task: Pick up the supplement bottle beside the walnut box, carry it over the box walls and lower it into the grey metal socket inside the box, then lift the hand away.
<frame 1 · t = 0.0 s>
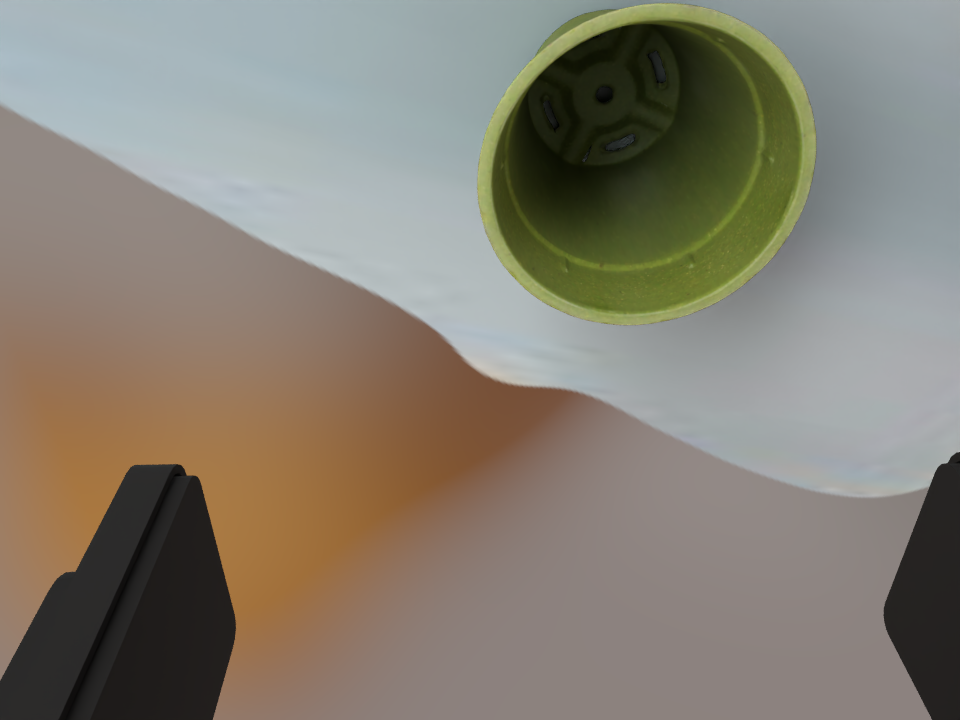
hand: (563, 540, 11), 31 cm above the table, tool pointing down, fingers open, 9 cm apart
plant pot: (601, 92, 39), on the table
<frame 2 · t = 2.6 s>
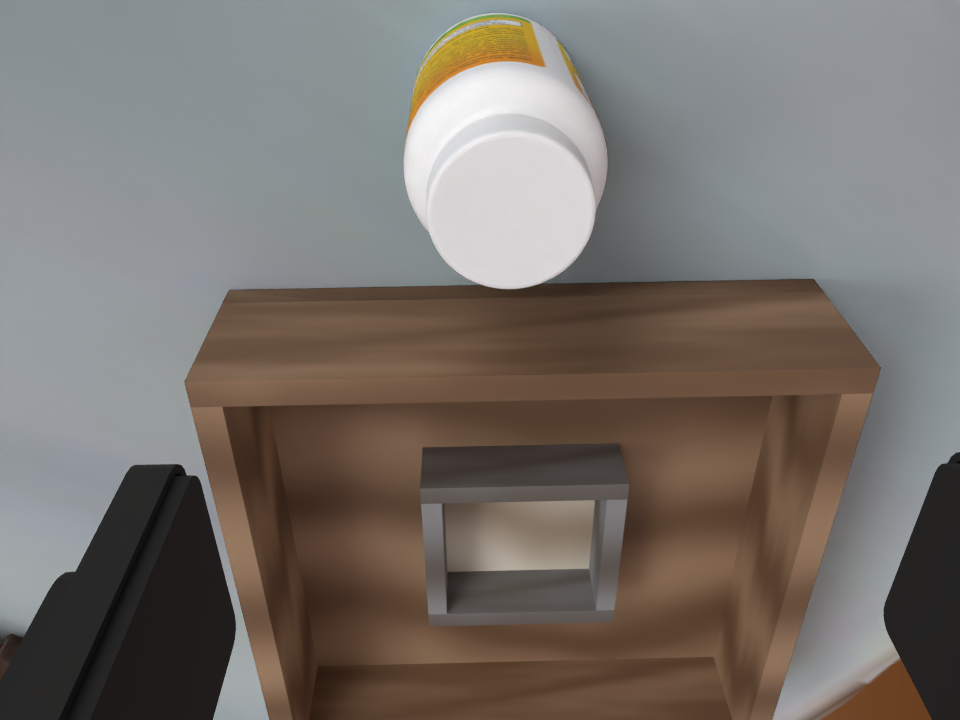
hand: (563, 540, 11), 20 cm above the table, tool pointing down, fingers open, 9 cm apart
walled box: (517, 501, 37), on the table
supplement bottle: (495, 95, 28), on the table
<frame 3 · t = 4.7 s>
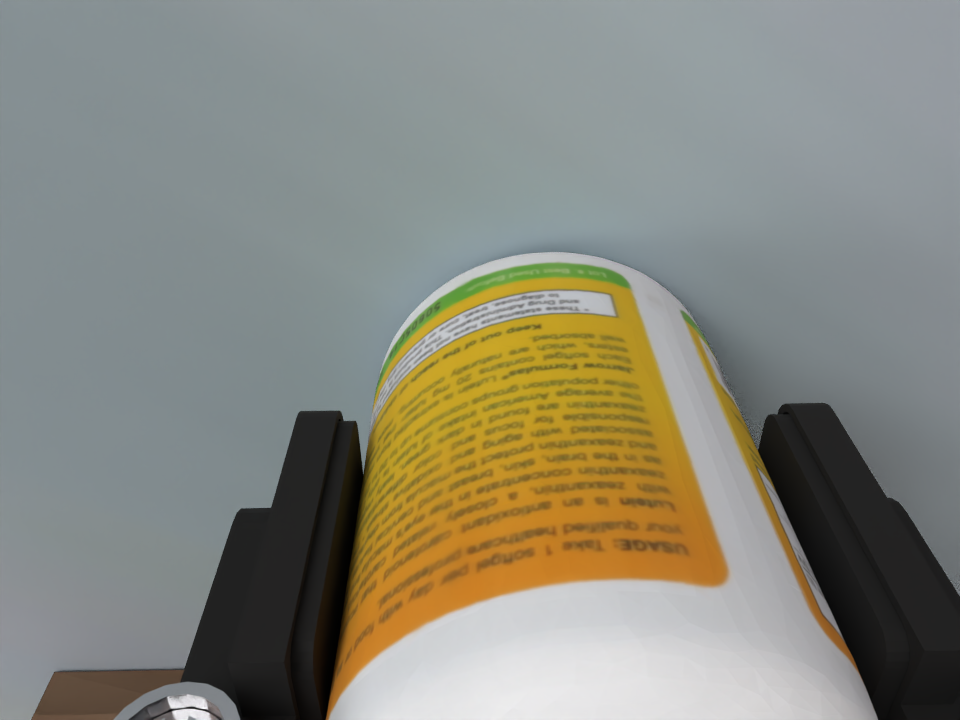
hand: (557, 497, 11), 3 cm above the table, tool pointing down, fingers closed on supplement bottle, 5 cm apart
supplement bottle: (542, 384, 14), on the table, touching gripper
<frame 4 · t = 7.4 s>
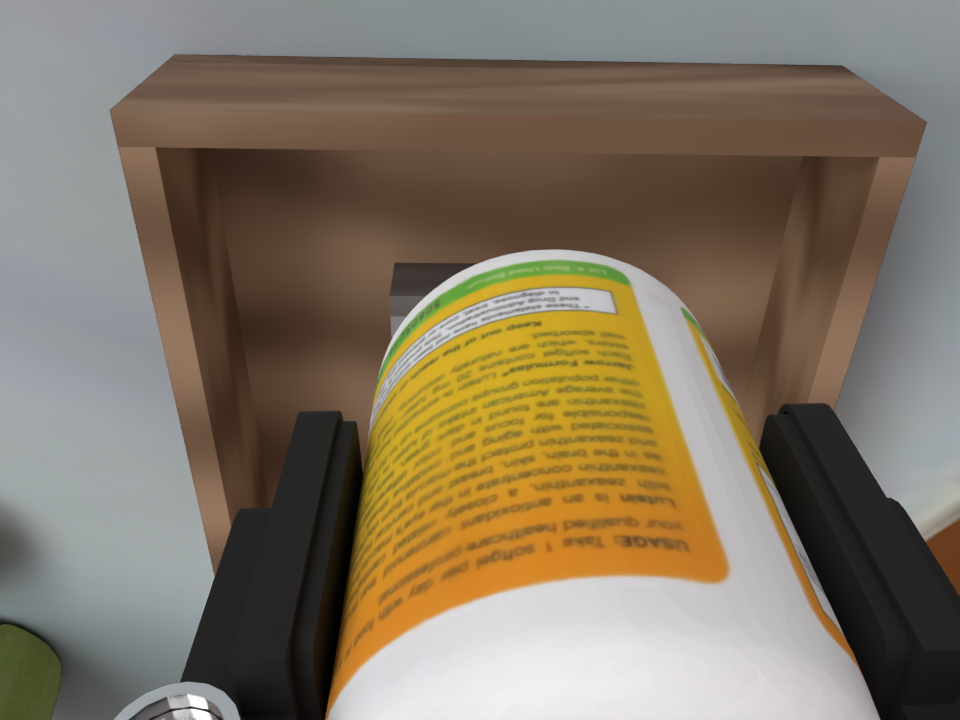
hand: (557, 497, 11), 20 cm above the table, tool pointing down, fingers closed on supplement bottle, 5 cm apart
walled box: (500, 342, 33), on the table
supplement bottle: (542, 382, 14), point 17 cm above the table, touching gripper
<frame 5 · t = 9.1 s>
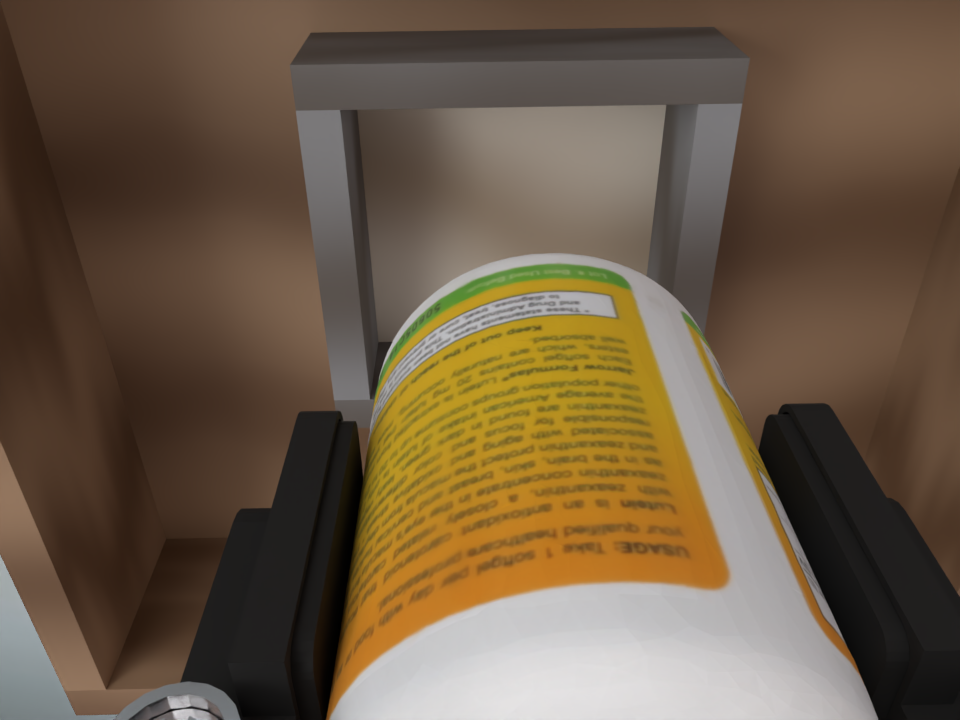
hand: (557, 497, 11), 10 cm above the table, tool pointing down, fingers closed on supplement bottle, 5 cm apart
walled box: (508, 199, 20), on the table
supplement bottle: (542, 385, 14), point 7 cm above the table, touching gripper
when the fingers open (5 cm above the table, at t = 10.4 s): supplement bottle drops 1 cm, resting on walled box.
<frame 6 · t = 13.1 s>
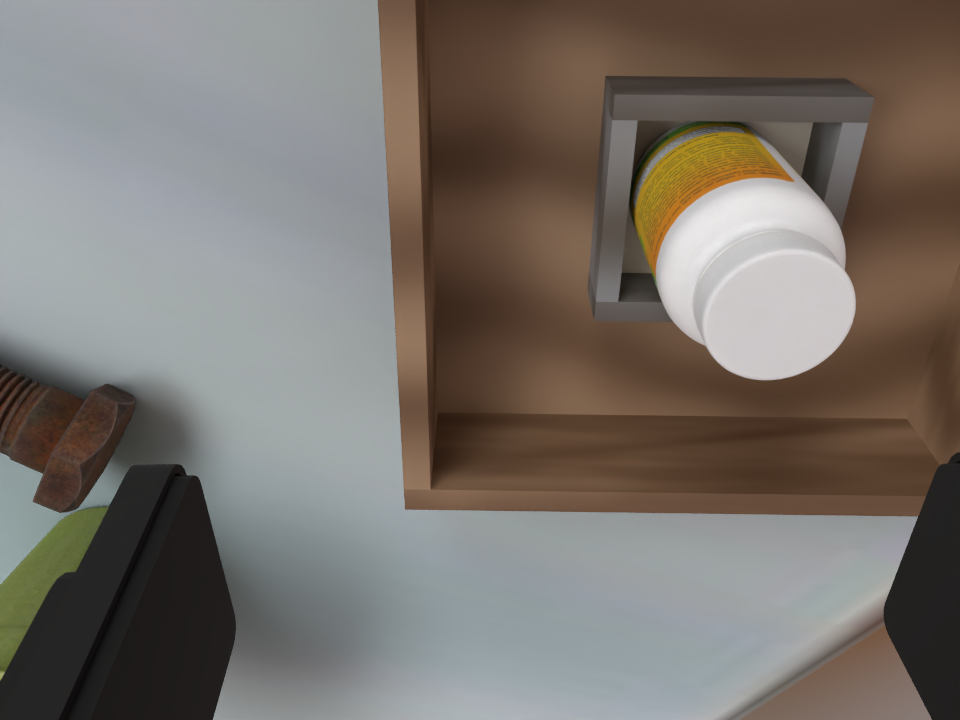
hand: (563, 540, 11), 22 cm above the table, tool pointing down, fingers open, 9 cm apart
plant pot: (126, 556, 42), on the table
walled box: (701, 182, 31), on the table
supplement bottle: (700, 186, 30), point 1 cm above the table, touching walled box
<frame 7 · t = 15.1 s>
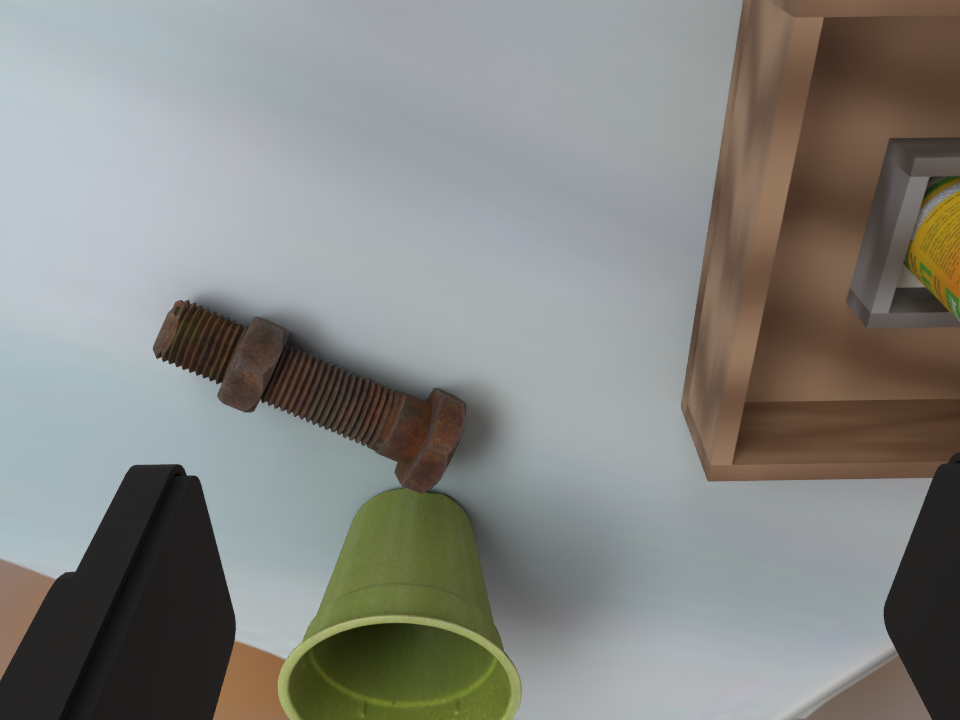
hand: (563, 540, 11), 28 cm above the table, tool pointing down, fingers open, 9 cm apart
plant pot: (412, 528, 50), on the table
walled box: (943, 214, 39), on the table
bolt: (319, 359, 44), on the table
supplement bottle: (948, 219, 38), point 1 cm above the table, touching walled box
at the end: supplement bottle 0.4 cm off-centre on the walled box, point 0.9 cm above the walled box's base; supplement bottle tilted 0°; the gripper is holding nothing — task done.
